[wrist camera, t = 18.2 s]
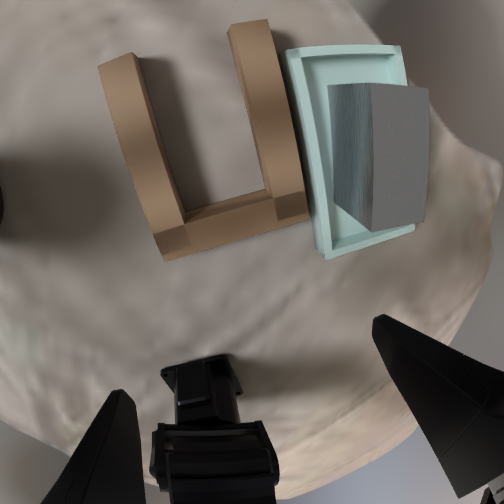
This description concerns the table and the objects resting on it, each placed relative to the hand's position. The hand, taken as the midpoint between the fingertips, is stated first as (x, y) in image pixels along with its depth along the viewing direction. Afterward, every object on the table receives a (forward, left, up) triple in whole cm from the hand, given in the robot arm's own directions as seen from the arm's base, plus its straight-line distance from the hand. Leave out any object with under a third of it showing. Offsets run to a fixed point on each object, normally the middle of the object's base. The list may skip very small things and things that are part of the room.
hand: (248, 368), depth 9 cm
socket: (+6, -1, -12) cm, 13 cm away
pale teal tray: (+3, -10, -12) cm, 16 cm away
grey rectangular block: (+3, -10, -11) cm, 16 cm away
